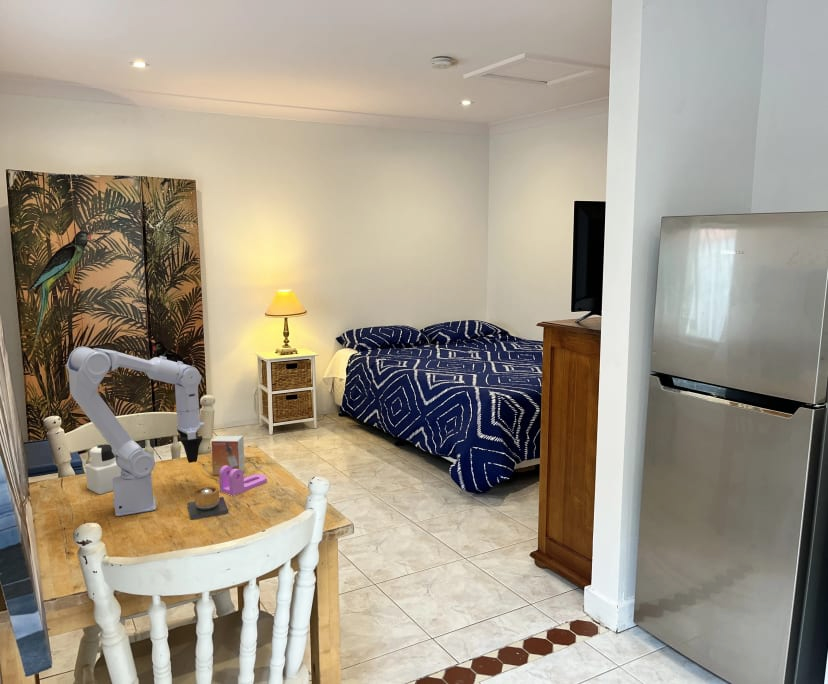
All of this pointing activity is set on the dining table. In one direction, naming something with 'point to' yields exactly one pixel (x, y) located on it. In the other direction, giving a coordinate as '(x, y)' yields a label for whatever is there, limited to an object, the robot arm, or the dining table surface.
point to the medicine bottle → (101, 469)
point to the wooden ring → (207, 496)
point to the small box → (227, 453)
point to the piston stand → (207, 508)
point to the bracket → (238, 481)
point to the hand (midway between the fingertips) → (191, 457)
